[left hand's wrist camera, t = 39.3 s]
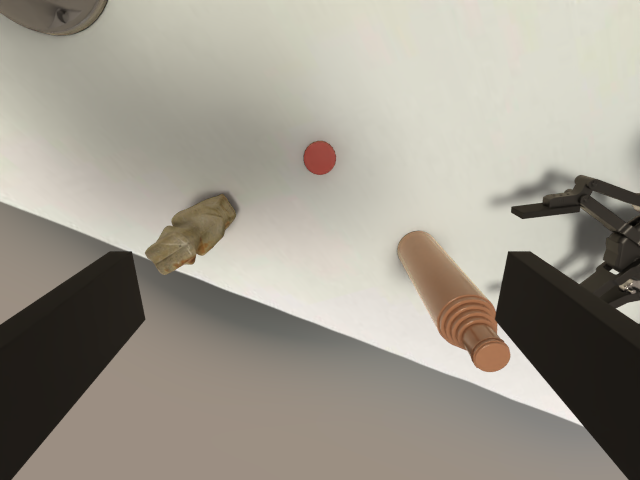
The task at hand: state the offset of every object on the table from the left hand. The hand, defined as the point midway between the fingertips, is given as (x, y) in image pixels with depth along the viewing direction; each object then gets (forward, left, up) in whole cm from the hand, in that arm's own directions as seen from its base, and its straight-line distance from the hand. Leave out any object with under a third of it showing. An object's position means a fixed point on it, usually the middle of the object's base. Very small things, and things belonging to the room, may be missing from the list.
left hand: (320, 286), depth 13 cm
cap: (0, 0, -36) cm, 36 cm away
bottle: (+19, -7, -38) cm, 43 cm away
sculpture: (-11, -13, -38) cm, 41 cm away
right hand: (+28, -2, -30) cm, 41 cm away
